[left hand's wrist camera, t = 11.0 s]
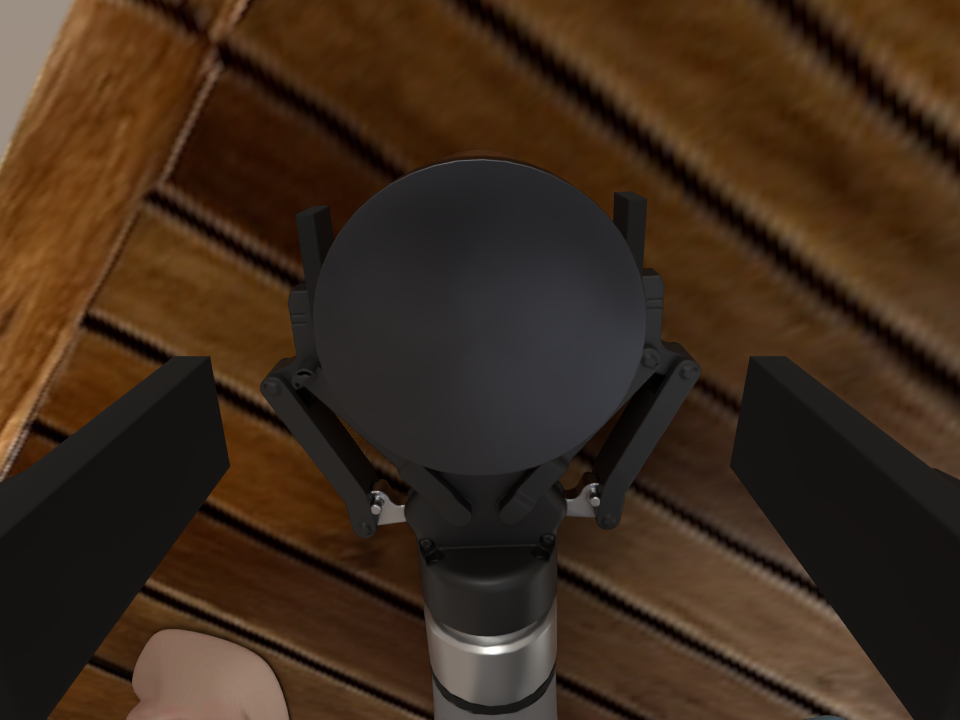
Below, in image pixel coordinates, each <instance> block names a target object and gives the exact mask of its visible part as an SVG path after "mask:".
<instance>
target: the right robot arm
mask: <svg viewBox="0 0 960 720" xmlns="http://www.w3.org/2000/svg"><path fill="white" fill-rule="evenodd" d="M646 207H647V199H646V198H644V197H642V196H640V195H638V194H635V193H633V192H614V216H613V223H614V224H615V225H616V227H617V228H618V229H619V231H620V232H621V233H622V235H623V236H624V238H625V240H626V242H627V244H628V246H629V247H630V249H631V251H632V253H633V255H634V258H635V260H636V263H637V266H638V268H639V271H640V274H641V278H642V282H643V287H644V291H645V298H646V310H647V323H646V337H645V343H644V348H643V353H642V357H641V360H640V363H639V366H638V369H637V372H636V375H635V377H634V379H633V381H632V383H631V385H630V387H629V389H628V391H627V393H626V395H625V396H624V398H623V399H622V401H621V402H620V404H619V405H618V407H617V408H616V410H615V411H614V412H613V413H612V415H611V416H610V417H609V418H608V419H607V420H606V422H607V421H608V420H609V419H610V418H611V417H612V416H613V415H614V414H615V413H616V412H617V411H618V410H619V409H620V408H621V407H622V406H623V405H624V404H625V403H626V402H627V401H628V400H629V399H630V397H631V396H632V395H633V394H634V395H633V397H632V399H631V400H630V402H629V404H628V405H627V407H626V409H625V410H624V412H623V414H622V415H621V417H620V419H619V420H618V422H617V424H616V425H615V427H614V429H613V430H612V432H611V434H610V435H609V437H608V439H607V440H606V442H605V444H604V445H603V447H602V449H601V450H600V452H599V454H598V456H597V458H596V460H595V463H594V466H593V470H592V473H591V472H585V473H584V474H583V475H582V478H581V479H580V481H579V483H578V485H577V486H576V487H575V488H573V489H571V490H564V488H563V486H562V485H561V483H560V482H559V481H558V479H559V478H560V477H561V476H562V475H563V474H564V473H565V472H566V470H567V468H568V465H569V462H570V460H571V459H572V458H573V457H574V456H575V455H576V454H577V453H578V452H579V451H580V450H581V449H582V447H583V446H584V445H585V444H586V443H587V442H588V441H589V440H590V439H591V438H592V437H593V436H594V435H595V434H596V433H597V432H598V431H599V430H600V429H601V428H602V427H603V426H604V425H605V424H606V422H605V423H604V424H603V425H602V426H601V427H600V428H599V429H598V430H596V431H595V432H594V433H593V434H592V435H591V436H590V437H589V438H588V439H586V440H585V441H583V442H582V443H581V444H579V445H578V446H576V447H575V448H574V449H572V450H571V451H569V452H567V453H565V454H563V455H561V456H559V457H558V458H556V459H554V460H551V461H549V462H546V463H544V464H541V465H539V466H536V467H533V468H530V469H526V470H522V471H519V472H514V473H507V474H501V475H487V476H472V475H458V474H452V473H447V472H442V471H437V470H434V469H431V468H427V467H424V466H421V465H418V464H416V463H413V462H411V461H409V460H407V459H404V458H402V457H400V456H398V455H397V454H395V453H393V452H392V451H390V450H388V449H386V448H385V447H383V446H382V445H381V444H379V443H378V442H377V441H375V440H374V439H373V438H371V437H370V436H369V435H368V434H367V433H366V432H365V431H363V430H362V429H361V428H360V427H359V426H358V425H357V424H356V423H355V422H354V421H353V419H352V418H351V417H350V416H349V414H348V413H347V412H346V411H345V410H344V408H343V407H342V406H341V404H340V402H339V401H338V399H337V398H336V396H335V394H334V393H333V391H332V390H331V388H330V385H329V383H328V381H327V379H326V377H325V374H324V372H323V370H322V366H321V363H320V360H319V356H318V353H317V348H316V342H315V336H314V323H313V308H314V299H315V290H316V286H317V282H318V278H319V275H320V271H321V268H322V265H323V263H324V260H325V258H326V256H327V253H328V251H329V249H330V247H331V245H332V244H333V242H334V238H333V231H332V223H331V216H330V209H329V206H312V207H310V208H308V209H306V210H304V211H302V212H300V213H298V214H296V215H295V217H296V223H297V229H298V236H299V242H300V248H301V255H302V261H303V267H304V274H305V280H306V283H299V284H298V285H297V286H296V287H295V288H294V289H293V290H292V291H290V295H289V299H288V307H289V313H290V319H291V323H292V330H293V336H294V342H295V348H296V356H294V357H292V358H284V359H281V360H280V361H279V362H278V363H277V364H276V365H275V367H274V368H273V369H272V370H271V371H270V373H269V374H268V375H267V376H266V377H265V379H264V380H263V381H262V382H261V385H260V391H261V393H262V395H263V396H264V397H265V399H266V400H267V401H268V403H269V404H270V405H271V406H272V408H273V409H274V410H275V412H276V413H277V414H278V416H279V417H280V418H281V420H282V421H283V422H284V423H285V425H286V426H287V427H288V429H289V430H290V431H291V433H292V434H293V435H294V437H295V438H296V439H297V440H298V442H299V443H300V444H301V446H302V447H303V448H304V450H305V451H306V452H307V454H308V455H309V456H310V457H311V459H312V460H313V461H314V463H315V464H316V465H317V467H318V468H319V469H320V471H321V472H322V473H323V474H324V476H325V477H326V478H327V480H328V481H329V482H330V484H331V485H332V486H333V488H334V489H335V490H336V491H337V493H338V494H339V495H340V497H341V498H342V499H343V501H344V502H345V504H346V507H347V510H348V514H349V517H350V521H351V524H352V528H353V530H354V532H355V534H356V535H358V536H359V537H362V538H369V537H372V536H373V535H374V534H375V532H376V530H377V526H378V525H383V524H390V523H398V522H405V521H407V523H408V524H409V526H410V527H411V528H412V529H413V531H414V533H415V535H416V538H417V545H418V555H419V564H420V574H421V584H422V593H423V598H424V614H425V622H426V631H427V639H428V647H429V656H430V665H431V672H432V682H433V697H434V720H558V718H557V699H556V670H555V667H556V653H557V596H556V592H557V533H558V528H559V526H560V524H561V522H562V521H563V519H564V518H565V516H576V517H593V518H596V522H597V524H598V526H599V527H601V528H602V529H606V530H608V529H613V528H615V527H616V526H617V525H618V524H619V522H620V519H621V514H622V508H623V503H624V498H625V493H626V491H627V490H628V488H629V487H630V485H631V483H632V482H633V480H634V479H635V477H636V476H637V474H638V472H639V471H640V469H641V468H642V466H643V465H644V463H645V461H646V460H647V458H648V457H649V455H650V454H651V452H652V450H653V449H654V447H655V446H656V444H657V442H658V441H659V439H660V438H661V436H662V435H663V433H664V431H665V430H666V428H667V427H668V425H669V424H670V422H671V420H672V419H673V417H674V416H675V414H676V413H677V411H678V409H679V408H680V406H681V405H682V403H683V402H684V400H685V398H686V397H687V395H688V394H689V392H690V391H691V389H692V387H693V386H694V384H695V383H696V381H697V380H698V378H699V376H700V373H701V369H700V366H699V365H698V363H697V362H696V361H695V360H694V359H693V358H692V357H691V356H690V354H689V353H688V352H687V351H686V350H685V349H684V348H683V347H682V346H681V345H680V344H679V343H676V342H671V343H668V342H665V341H662V340H661V325H662V312H663V309H662V307H663V298H664V284H663V281H662V278H661V276H660V275H659V274H658V273H657V272H656V271H655V270H653V269H652V268H646V269H643V258H644V241H645V224H646ZM335 413H336V414H337V415H338V416H339V417H340V418H341V419H342V420H344V421H345V422H346V423H347V424H348V425H349V426H350V427H352V428H353V429H354V430H355V431H356V432H357V433H358V434H359V435H361V436H362V437H363V438H364V439H365V440H366V441H367V442H369V443H370V444H371V445H372V446H373V447H374V448H375V449H377V450H378V451H379V452H380V453H381V454H382V455H383V456H385V457H386V458H387V459H388V460H389V461H390V462H391V463H393V464H394V465H395V466H396V468H397V469H398V472H399V475H400V476H401V478H402V479H403V480H404V481H405V482H406V483H408V484H409V485H410V486H411V488H410V489H409V491H408V493H407V496H400V495H397V494H395V493H394V492H393V491H392V489H391V487H390V486H389V485H388V482H387V481H386V480H384V479H381V480H379V481H378V478H377V475H376V473H375V471H374V469H373V467H372V465H371V463H370V462H369V460H368V459H367V458H366V456H365V455H364V453H363V452H362V451H361V449H360V448H359V446H358V445H357V444H356V442H355V441H354V440H353V438H352V437H351V435H350V434H349V433H348V431H347V430H346V429H345V427H344V426H343V424H342V423H341V422H340V420H339V419H338V417H337V416H336V415H335ZM804 720H845V719H843V718H840V717H837V716H827V715H825V716H819V717H814V718H809V719H804Z"/></svg>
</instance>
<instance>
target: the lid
mask: <svg viewBox="0 0 960 720" xmlns="http://www.w3.org/2000/svg"><path fill="white" fill-rule="evenodd" d="M313 323H314V336H315V342H316V348H317V353H318V356H319V360H320V363H321V366H322V370H323V372H324V374H325V377H326V379H327V381H328V383H329V385H330V388H331V390H332V391H333V393H334V394H335V396H336V398H337V399H338V401H339V402H340V404H341V406H342V407H343V408H344V410H345V411H346V412H347V413H348V414H349V416H350V417H351V418H352V419H353V421H354V422H355V423H356V424H357V425H358V426H359V427H360V428H361V429H362V430H363V431H365V432H366V433H367V434H368V435H369V436H370V437H371V438H373V439H374V440H375V441H377V442H378V443H379V444H381V445H382V446H383V447H385V448H386V449H388V450H390V451H392V452H393V453H395V454H397V455H398V456H400V457H402V458H404V459H407V460H409V461H411V462H413V463H416V464H418V465H421V466H424V467H427V468H431V469H434V470H437V471H442V472H447V473H452V474H458V475H472V476H487V475H501V474H507V473H514V472H519V471H522V470H526V469H530V468H533V467H536V466H539V465H541V464H544V463H546V462H549V461H551V460H554V459H556V458H558V457H559V456H561V455H563V454H565V453H567V452H569V451H571V450H572V449H574V448H575V447H576V446H578V445H579V444H581V443H582V442H583V441H585V440H586V439H588V438H589V437H590V436H591V435H592V434H593V433H594V432H595V431H596V430H598V429H599V428H600V427H601V426H602V425H603V424H604V423H605V422H606V420H607V419H608V418H609V417H610V416H611V415H612V413H613V412H614V411H615V410H616V408H617V407H618V405H619V404H620V402H621V401H622V399H623V398H624V396H625V395H626V393H627V391H628V389H629V387H630V385H631V383H632V381H633V379H634V377H635V375H636V372H637V369H638V366H639V363H640V360H641V357H642V353H643V348H644V343H645V337H646V323H647V310H646V298H645V291H644V287H643V282H642V278H641V274H640V271H639V268H638V266H637V263H636V260H635V258H634V255H633V253H632V251H631V249H630V247H629V246H628V244H627V242H626V240H625V238H624V236H623V235H622V233H621V232H620V231H619V229H618V228H617V227H616V225H615V224H614V223H613V221H612V220H611V219H610V217H609V216H608V215H607V214H606V213H605V212H604V211H603V210H602V209H601V208H600V207H599V206H598V205H597V204H596V203H595V202H594V201H593V200H592V199H590V198H589V197H588V196H586V195H585V194H584V193H582V192H581V191H580V190H578V189H577V188H576V187H574V186H573V185H572V184H570V183H569V182H567V181H566V180H564V179H562V178H560V177H558V176H557V175H555V174H553V173H551V172H549V171H548V170H545V169H543V168H540V167H538V166H535V165H532V164H530V163H527V162H523V161H519V160H515V159H510V158H506V157H496V156H485V155H479V156H461V157H455V158H450V159H445V160H440V161H437V162H434V163H431V164H428V165H425V166H422V167H419V168H417V169H415V170H413V171H411V172H409V173H407V174H405V175H403V176H401V177H399V178H398V179H396V180H395V181H393V182H392V183H390V184H389V185H388V186H386V187H385V188H383V189H382V190H380V191H379V192H377V193H376V194H375V195H373V196H372V197H371V198H370V199H369V200H367V201H366V202H365V203H364V204H363V205H362V206H361V207H360V208H359V209H358V210H357V211H356V212H355V213H354V214H353V215H352V216H351V218H350V219H349V220H348V221H347V223H346V224H345V225H344V226H343V228H342V229H341V230H340V232H339V234H338V235H337V237H336V239H335V240H334V242H333V244H332V245H331V247H330V249H329V251H328V253H327V256H326V258H325V260H324V263H323V265H322V268H321V271H320V275H319V278H318V282H317V286H316V290H315V299H314V308H313Z"/></svg>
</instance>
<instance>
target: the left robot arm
mask: <svg viewBox="0 0 960 720" xmlns="http://www.w3.org/2000/svg"><path fill="white" fill-rule="evenodd" d="M229 467H230V463H229V458H228V452H227V447H226V441H225V436H224V430H223V425H222V419H221V414H220V409H219V403H218V398H217V392H216V387H215V381H214V376H213V370H212V365H211V359H210V356H174V357H173V358H172V359H170V360H169V361H168V362H167V363H165V364H164V365H163V366H161V367H160V368H159V369H157V370H156V371H155V372H154V373H152V374H151V375H150V376H148V377H147V378H146V379H144V380H143V381H142V382H140V383H139V384H138V385H137V386H135V387H134V388H133V389H131V390H130V391H129V392H127V393H126V394H125V395H124V396H122V397H121V398H120V399H118V400H117V401H116V402H114V403H113V404H112V405H110V406H109V407H108V408H107V409H105V410H104V411H103V412H101V413H100V414H99V415H97V416H96V417H95V418H94V419H92V420H91V421H90V422H88V423H87V424H86V425H84V426H83V427H82V428H80V429H79V430H78V431H77V432H75V433H74V434H73V435H71V436H70V437H69V438H67V439H66V440H65V441H64V442H62V443H61V444H60V445H58V446H57V447H56V448H54V449H53V450H52V451H51V452H49V453H48V454H47V455H45V456H44V457H43V458H41V459H40V460H39V461H37V462H36V463H35V464H34V465H32V466H31V467H30V468H28V469H27V470H26V471H23V472H21V473H19V474H17V475H15V476H13V477H11V478H9V479H7V480H5V481H3V482H0V720H46V719H47V718H48V716H49V715H50V713H51V712H52V711H53V709H54V708H55V707H56V705H57V704H58V702H59V701H60V700H61V698H62V697H63V696H64V694H65V693H66V691H67V690H68V689H69V687H70V686H71V685H72V683H73V682H74V680H75V679H76V678H77V676H78V675H79V674H80V672H81V671H82V669H83V668H84V667H85V665H86V664H87V662H88V661H89V660H90V658H91V657H92V656H93V654H94V653H95V651H96V650H97V649H98V647H99V646H100V645H101V643H102V642H103V640H104V639H105V638H106V636H107V635H108V634H109V632H110V631H111V629H112V628H113V627H114V625H115V624H116V623H117V621H118V620H119V618H120V617H121V616H122V614H123V613H124V612H125V610H126V609H127V607H128V606H129V605H130V603H131V602H132V601H133V599H134V598H135V596H136V595H137V594H138V592H139V591H140V590H141V588H142V587H143V585H144V584H145V583H146V581H147V580H148V579H149V577H150V576H151V574H152V573H153V572H154V570H155V569H156V568H157V566H158V565H159V563H160V562H161V561H162V559H163V558H164V556H165V555H166V554H167V552H168V551H169V550H170V548H171V547H172V545H173V544H174V543H175V541H176V540H177V539H178V537H179V536H180V534H181V533H182V532H183V530H184V529H185V528H186V526H187V525H188V523H189V522H190V521H191V519H192V518H193V517H194V515H195V514H196V512H197V511H198V510H199V508H200V507H201V506H202V504H203V503H204V501H205V500H206V499H207V497H208V496H209V495H210V493H211V492H212V490H213V489H214V488H215V486H216V485H217V484H218V482H219V481H220V479H221V478H222V477H223V475H224V474H225V473H226V471H227V470H228V468H229ZM730 467H731V468H732V470H733V471H734V473H735V474H736V475H737V477H738V478H739V479H740V481H741V482H742V484H743V485H744V486H745V488H746V489H747V490H748V492H749V493H750V495H751V496H752V497H753V499H754V500H755V501H756V503H757V504H758V506H759V507H760V508H761V510H762V511H763V512H764V514H765V515H766V517H767V518H768V519H769V521H770V522H771V523H772V525H773V526H774V528H775V529H776V530H777V532H778V533H779V534H780V536H781V537H782V539H783V540H784V541H785V543H786V544H787V545H788V547H789V548H790V550H791V551H792V552H793V554H794V555H795V556H796V558H797V559H798V561H799V562H800V563H801V565H802V566H803V568H804V569H805V570H806V572H807V573H808V574H809V576H810V577H811V579H812V580H813V581H814V583H815V584H816V585H817V587H818V588H819V590H820V591H821V592H822V594H823V595H824V596H825V598H826V599H827V601H828V602H829V603H830V605H831V606H832V607H833V609H834V610H835V612H836V613H837V614H838V616H839V617H840V618H841V620H842V621H843V623H844V624H845V625H846V627H847V628H848V629H849V631H850V632H851V634H852V635H853V636H854V638H855V639H856V640H857V642H858V643H859V645H860V646H861V647H862V649H863V650H864V651H865V653H866V654H867V656H868V657H869V658H870V660H871V661H872V663H873V664H874V665H875V667H876V668H877V669H878V671H879V672H880V674H881V675H882V676H883V678H884V679H885V680H886V682H887V683H888V685H889V686H890V687H891V689H892V690H893V691H894V693H895V694H896V696H897V697H898V698H899V700H900V701H901V702H902V704H903V705H904V707H905V708H906V709H907V711H908V712H909V713H910V715H911V716H912V718H913V719H914V720H960V480H959V479H957V478H954V477H952V476H950V475H948V474H946V473H944V472H942V471H940V470H938V469H932V468H930V467H929V466H928V465H926V464H925V463H924V462H923V461H921V460H920V459H919V458H917V457H916V456H915V455H913V454H912V453H911V452H909V451H908V450H907V449H906V448H904V447H903V446H902V445H900V444H899V443H898V442H896V441H895V440H894V439H893V438H891V437H890V436H889V435H887V434H886V433H885V432H883V431H882V430H881V429H880V428H878V427H877V426H876V425H874V424H873V423H872V422H870V421H869V420H868V419H866V418H865V417H864V416H863V415H861V414H860V413H859V412H857V411H856V410H855V409H853V408H852V407H851V406H850V405H848V404H847V403H846V402H844V401H843V400H842V399H840V398H839V397H838V396H836V395H835V394H834V393H833V392H831V391H830V390H829V389H827V388H826V387H825V386H823V385H822V384H821V383H820V382H818V381H817V380H816V379H814V378H813V377H812V376H810V375H809V374H808V373H806V372H805V371H804V370H803V369H801V368H800V367H799V366H797V365H796V364H795V363H793V362H792V361H791V360H790V359H788V358H787V357H786V356H750V359H749V365H748V370H747V376H746V381H745V387H744V392H743V398H742V403H741V409H740V414H739V419H738V425H737V430H736V436H735V441H734V447H733V452H732V458H731V463H730Z"/></svg>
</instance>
